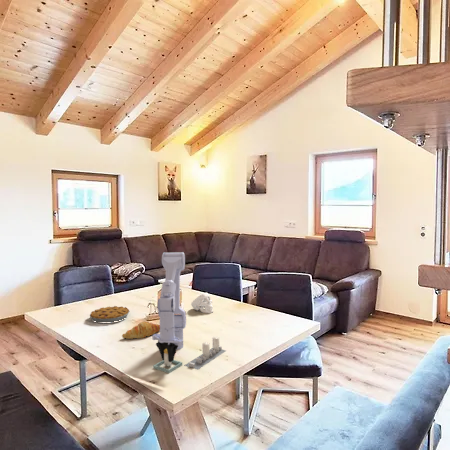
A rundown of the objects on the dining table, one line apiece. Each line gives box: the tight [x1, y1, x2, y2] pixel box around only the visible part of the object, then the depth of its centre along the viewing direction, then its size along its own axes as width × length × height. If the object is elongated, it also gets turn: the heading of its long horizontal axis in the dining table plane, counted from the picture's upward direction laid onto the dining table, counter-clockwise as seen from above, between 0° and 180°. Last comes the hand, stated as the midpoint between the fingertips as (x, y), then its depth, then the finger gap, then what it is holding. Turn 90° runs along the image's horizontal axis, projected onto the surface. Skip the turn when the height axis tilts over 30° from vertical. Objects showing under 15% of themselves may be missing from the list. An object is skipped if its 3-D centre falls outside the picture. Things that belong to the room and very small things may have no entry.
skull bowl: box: [190, 292, 214, 314], centre depth 222 cm, size 10×14×12 cm
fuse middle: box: [202, 341, 211, 359], centre depth 153 cm, size 3×3×6 cm
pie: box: [89, 305, 130, 323], centre depth 210 cm, size 22×22×5 cm
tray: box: [152, 359, 183, 374], centre depth 146 cm, size 8×8×2 cm
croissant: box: [121, 321, 160, 340], centre depth 183 cm, size 21×10×8 cm, turn 126°
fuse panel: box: [184, 345, 227, 370], centre depth 153 cm, size 7×21×2 cm, turn 148°
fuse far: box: [211, 336, 220, 353], centre depth 159 cm, size 3×3×6 cm
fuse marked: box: [163, 349, 173, 367], centre depth 146 cm, size 3×3×6 cm
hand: (167, 360), depth 146 cm, fingers closed on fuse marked, 3 cm apart
